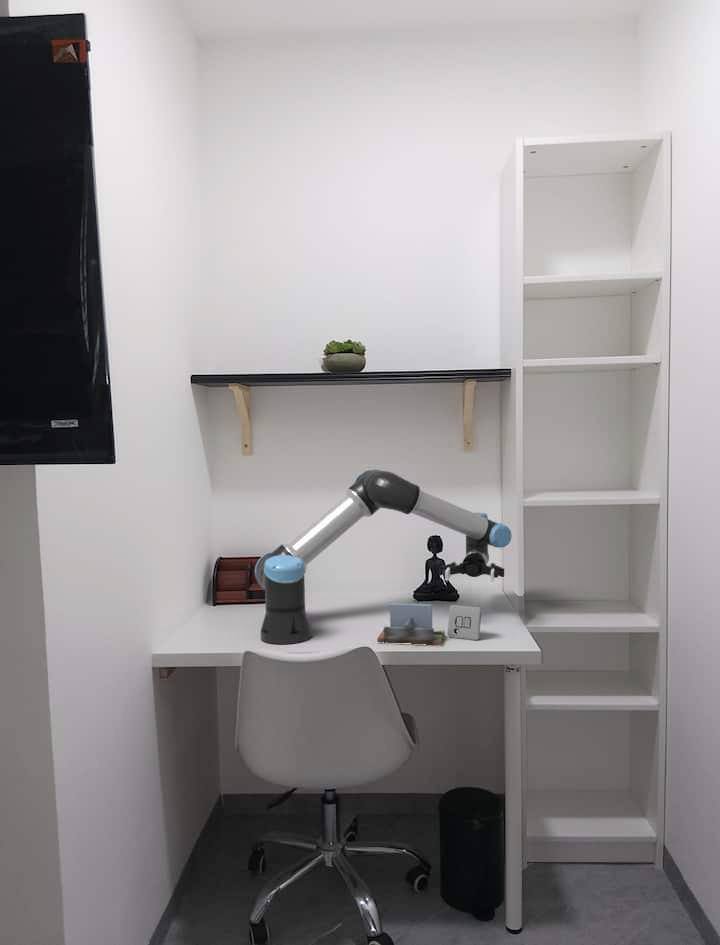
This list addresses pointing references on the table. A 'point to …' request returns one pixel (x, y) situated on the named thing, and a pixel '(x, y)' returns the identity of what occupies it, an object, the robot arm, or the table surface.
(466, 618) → the electrical switch
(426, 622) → the upright blue panel
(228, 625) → the table surface
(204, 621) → the table surface
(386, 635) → the gauge base
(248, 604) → the table surface
